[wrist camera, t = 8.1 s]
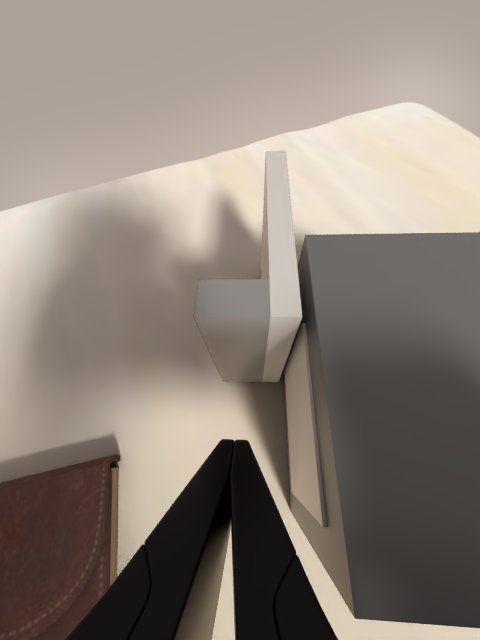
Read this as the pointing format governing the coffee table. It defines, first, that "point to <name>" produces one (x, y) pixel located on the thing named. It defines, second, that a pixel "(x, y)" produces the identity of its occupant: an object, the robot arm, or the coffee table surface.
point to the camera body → (389, 422)
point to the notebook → (56, 548)
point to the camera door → (257, 295)
